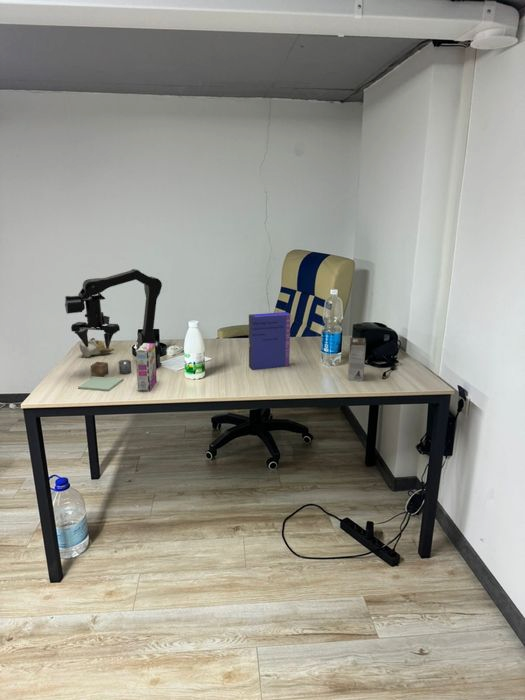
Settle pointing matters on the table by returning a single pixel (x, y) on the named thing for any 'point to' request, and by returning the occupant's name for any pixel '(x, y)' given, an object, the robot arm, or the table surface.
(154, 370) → the candy bar box
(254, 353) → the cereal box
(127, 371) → the metal cylinder
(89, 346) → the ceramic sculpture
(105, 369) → the walnut block
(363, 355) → the coffee box
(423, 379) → the table surface
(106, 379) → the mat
